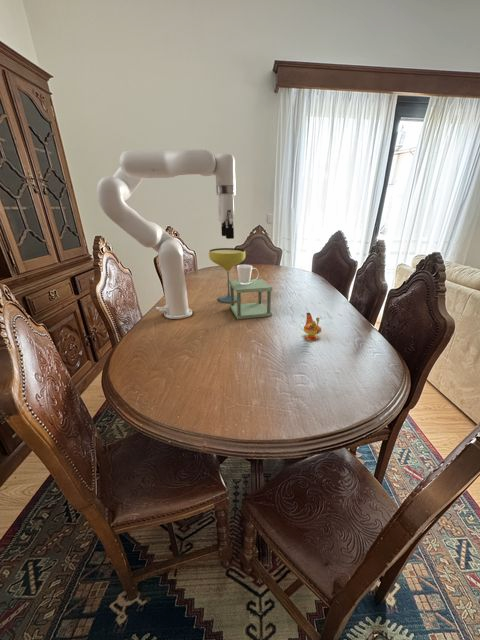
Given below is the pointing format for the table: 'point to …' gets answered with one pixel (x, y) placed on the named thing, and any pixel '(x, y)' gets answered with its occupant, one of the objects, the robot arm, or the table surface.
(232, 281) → the shelf
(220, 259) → the cocktail glass
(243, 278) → the cup
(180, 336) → the table surface
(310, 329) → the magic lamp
